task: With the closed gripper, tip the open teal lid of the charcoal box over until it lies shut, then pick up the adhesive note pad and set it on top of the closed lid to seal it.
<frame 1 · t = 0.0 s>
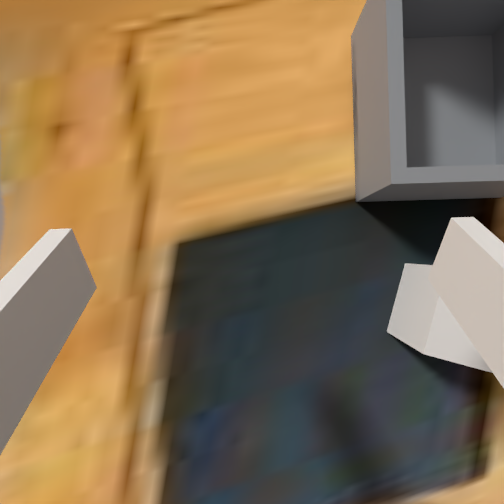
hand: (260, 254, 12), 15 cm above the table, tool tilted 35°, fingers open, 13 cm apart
box: (425, 116, 27), on the table
adhesive note: (428, 306, 27), on the table
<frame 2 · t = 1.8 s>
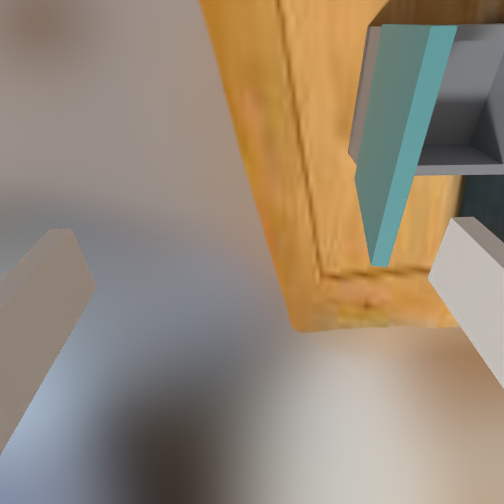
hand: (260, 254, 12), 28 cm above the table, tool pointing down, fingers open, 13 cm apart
lid: (384, 134, 22), point 14 cm above the table, hinge at 100.0°
box: (423, 94, 33), on the table
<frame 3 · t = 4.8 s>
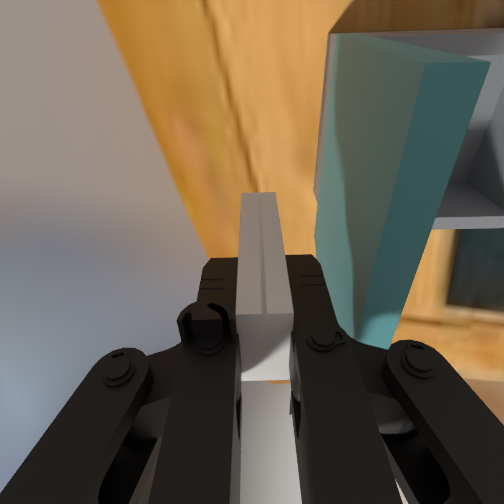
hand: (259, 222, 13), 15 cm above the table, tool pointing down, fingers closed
lid: (345, 204, 14), point 14 cm above the table, hinge at 95.8°, touching gripper
box: (406, 120, 26), on the table
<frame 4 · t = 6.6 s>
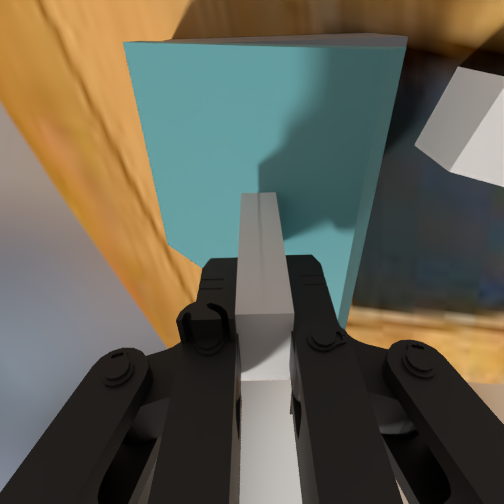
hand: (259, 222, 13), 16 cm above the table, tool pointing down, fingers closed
lid: (231, 191, 16), point 13 cm above the table, hinge at 44.5°, touching gripper
box: (269, 124, 26), on the table
adhesive note: (465, 117, 26), on the table
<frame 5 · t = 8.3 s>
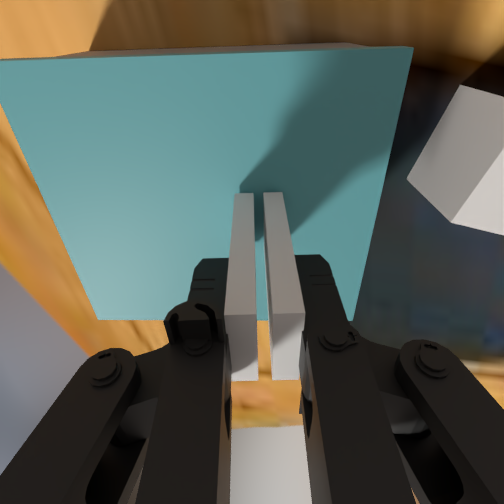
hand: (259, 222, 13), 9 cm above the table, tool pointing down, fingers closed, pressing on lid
lid: (213, 216, 14), point 8 cm above the table, hinge at 2.1°, touching gripper
box: (224, 155, 21), on the table
adhesive note: (469, 146, 21), on the table
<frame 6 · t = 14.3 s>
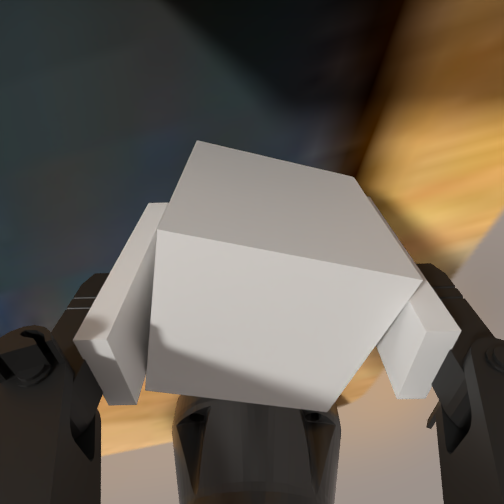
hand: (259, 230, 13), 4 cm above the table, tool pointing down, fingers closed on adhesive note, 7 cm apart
adhesive note: (258, 224, 14), point 4 cm above the table, touching gripper
when the fingers open (9 cm above the table, at t = 18.0 s): adhesive note stays where it is, resting on lid.
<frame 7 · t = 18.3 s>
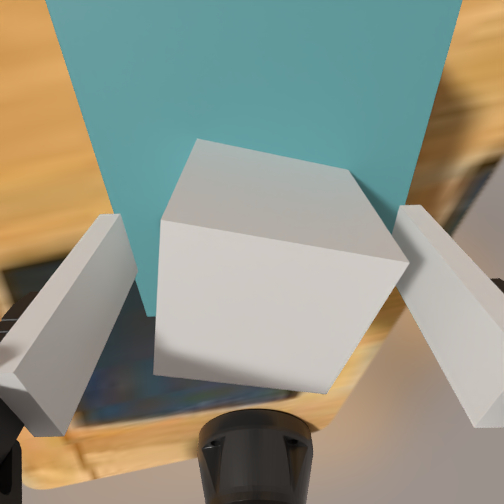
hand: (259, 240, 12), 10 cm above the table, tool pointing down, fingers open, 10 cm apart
lid: (258, 191, 14), point 8 cm above the table, hinge at -0.1°, touching adhesive note
adhesive note: (258, 218, 14), point 8 cm above the table, touching lid
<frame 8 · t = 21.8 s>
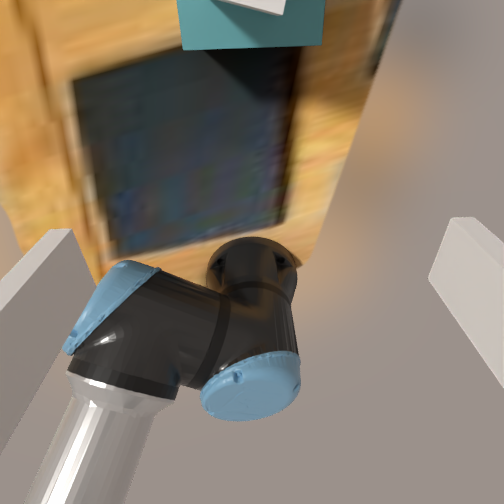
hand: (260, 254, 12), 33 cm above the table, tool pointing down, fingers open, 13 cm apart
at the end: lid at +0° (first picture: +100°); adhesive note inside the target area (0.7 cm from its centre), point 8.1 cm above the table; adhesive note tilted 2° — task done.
